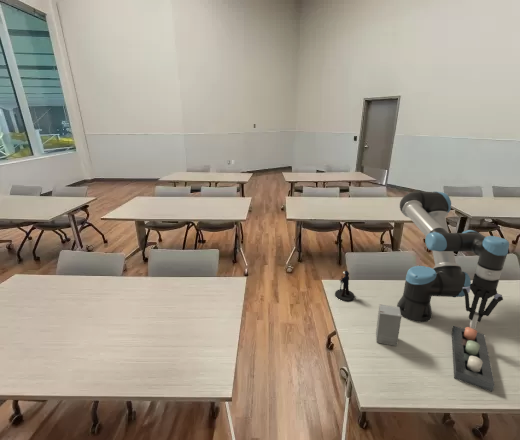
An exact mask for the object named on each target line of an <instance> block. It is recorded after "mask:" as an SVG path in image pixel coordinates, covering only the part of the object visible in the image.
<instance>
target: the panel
mask: <svg viewBox="0 0 520 440" xmlns="http://www.w3.org/2000/svg"><path fill="white" fill-rule="evenodd" d="M464 332H465V328H463V327H460V326H455V325H452V328H451V345H452V346H451V348H452V363H453V379H456V380H458V381H460V382H463V383H466V384H468V385H471V386H473V387H477V388H479V389H482V390H485V391H488V392H490V393H492V392H493V391H494V388H495V379H494V376H493V371H492V370H493V369H492V365H491V360H490V356H489V351H488V345H487V341H486V337H485V334H484V333H480V332H478V331H477V335H476V338H475V340H474V341H475V342H477V343H478V344H479V345H480V348H479V351H478V354H477V355H471V354H469V353H467V352H466V351H465V348H466V344H467V341H469V340H468V339H466V338H465V337H464V336H463V335H464ZM470 356H476V357H478V358H480V359H481V360H482V362H483V364H482V367H481V370H480V372H474V371H471V370H470V369H469V368H468V367H467V363H468V359H469V357H470Z"/></svg>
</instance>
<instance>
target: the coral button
mask: <svg viewBox="0 0 520 440" xmlns="http://www.w3.org/2000/svg"><path fill="white" fill-rule="evenodd" d="M464 329H465V332H464V335H463V336H464V337H465V338H466V339H468V340H471V341H474V340H475V338H476V335H477V332H478V330H476V328H475V329H472V328H470V326H466V327H465V328H464Z"/></svg>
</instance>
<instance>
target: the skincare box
mask: <svg viewBox="0 0 520 440" xmlns="http://www.w3.org/2000/svg"><path fill="white" fill-rule="evenodd" d="M378 305H379V306H378V311H377V312H378V313H377V320H376V329H375V330H376V331H375V337H376V339H375V341H376V343H379V344H383V345H388V346H389V345H390V346H393V347H397V346H398V341H399V334H400V328H401V321H402V317H403V316H402V315H401V311H400V307H397V306H396V305H395V306H393V305H387V304H380V303H379V304H378Z"/></svg>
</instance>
